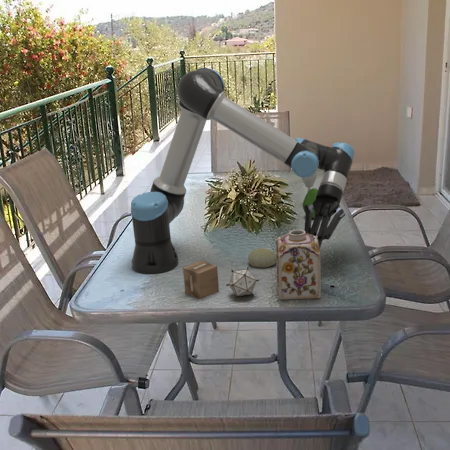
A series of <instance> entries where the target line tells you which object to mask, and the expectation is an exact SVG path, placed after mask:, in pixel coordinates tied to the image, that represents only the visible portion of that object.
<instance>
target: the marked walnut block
mask: <svg viewBox="0 0 450 450" xmlns="http://www.w3.org/2000/svg"><path fill="white" fill-rule="evenodd" d="M218 273H219V272H218V265H215V264H213V263H210V262H207V261H203V260H199V261H196V262H194V263H191V264H189V265H187V266H183V267H182V274H183V283H184V292H185V294H187V295H189V296H192V297H194V298H196V299H199V300H203V299H205V298H207V297H209V296H212V295H214V294H216V293H218V292H220V290H219V289H220V288H219V286H220V285H219V274H218Z"/></svg>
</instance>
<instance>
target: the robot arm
mask: <svg viewBox="0 0 450 450" xmlns="http://www.w3.org/2000/svg"><path fill="white" fill-rule="evenodd" d="M225 90H226V89H225V82H224V79H223V77H222V75H220V73H219V72H218V71H217V70H215V69H212V68H208V67H200V68H196V70H191V71H188V72H187V73H185V74H184V75H183V76H182V77H181V78H180V80H179V82H178V84H177V96H178V98H179V102H178V107H179V108H180V115H179V118H178V120H177V124H176V127H175V129H174V133H173V136H172V138H171V142H170V144H169V148H168V151H167V154H166V156H165V157H166V158H165V160H164V162H163V166H162V169H161V172H160V175H159V176H158V177H156V178H153V179H154V180H153V181H152V185H151V188H150V191H147V192H143V193H142V194H137V195H136V196H135V197H133V199H131V203H130V214H131V220H132V229H133V236H134V237H133V238H134V245H135V246H134V249H133V255H132V258H131V259H132V260H131V267H132V270H133V271H135V272H137V273H140V274H150V275H151V274H159V273H164V272H168V271H171V270H173V269H174V268H176V267H177V266H178V264H179V257H178V254H177V251H176V249H175V247H174V245H173V242H172V238H171V237H172V236H171V228H170V227H171V226H170V224H171V223H172V222H173V221H174V220H175V218H176V219H177V217H178V216H179V215H180V214H181V213H182V211H183V209H184V206H185V205H184V204H185V196H186V194H187V188H186V186H185V182H186V180H187V177H188V174H189V171H190V168H191V166H192V163H193V159H194V158H195V155H196V151H197V149H198V146H199V143H200V140H201V138H202V135H203V131H204V129H205V125H206V124H207V123H206V122H207V121H210V120H213V121H214V122H217V123H218V124H220V125H221V126H222V127H224V128H227V129H228V130H229V131H231V132H233V133H234V134H236V135H237V136H239V137H240V138H242V139H244V140H246V141H247V142H249V143H250V144H252V145H254V146H255V147H257V148H258V149H260V150H262V151H264V152H265V153H267V154H268V155H270V156H272V157H273V158H274V159H276V160H277V161H279V162H282V163H283V164H284V165H286V166H288V167H289V168H291V170H292V171H293V173H294V174H295V176H297V177H300V178H302V177H303V178H305V177H309V176H311V175H313V174H314V173H315V172H316V173H317V170H318V169H319V170H322V171H323V175H322V177H321V180H320V183H319V186H318V189H317V190H318V192H317V195H316V199H315V201H314V202H313V204H312V205H309V206H307V205H305V206H304V208H305V211H306V214H305V218H304V231H305V232H306V233H308V234H311V235H313V236H316V237H317V239H318V244H319V248H320V249H321V247H322V243H323V241H324V240H330V238H331V237H332V236H333V233H334V232H335V230H336V229H337V227H338V225H339V223H340V222H341V220H342V219H343V218H345V216H346V212H345V210H344V209H343V208H341V206H340V203H341V200H342V197H343V194H344V192H345V191H344V190H345V187H346V184H347V181H348V178H349V174H350V171H351V169H352V165H353V162H354V157H355V149H354V147H353V146H352V145H350V144H348V143H346V142H339V141H338V142H335V143H333V144H332V145H331V146H327V145H324V144H321V143H319V142H315V141H312V140H309V139H307V138H302V137H295V138H293V137H291V136H289V135H288V134H286V133H284V132H283V131H281V130H280V129H278V128H277V127H275V126H273V125H272V124H270V123H268V122H267V121H265V120H264V119H262V118H260V117H259V116H257V115H256V114H254V113H253V112H252V111H249V110H247V109H246V108H244V107H243V106H241V105H240V104H237V102H235V101H233V100H232V99H230V98H228V97H227V96H226V93H225ZM313 209H314V210H315V218H314V219H313V218H312V214H311V213H312V212H313ZM332 216H333V217H332ZM312 220H313V221H312Z"/></svg>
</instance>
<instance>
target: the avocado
mask: <svg viewBox="0 0 450 450" xmlns="http://www.w3.org/2000/svg"><path fill="white" fill-rule="evenodd" d="M307 191H308V190H307ZM307 191H306V192H307ZM317 192H318V189H317V188H316V187H312V188H310V190H309V191H308V192H307V193H306V195H305V196H304V199H303V202H302V209H303V212H304V214H305V215H306V211H305V208H304V206H305V205H307V206H309V205H312V204H313V202H314V201H315V199H316V195H317ZM311 214H312V220H314V218H315V210H314V209H313V212H312V213H311Z"/></svg>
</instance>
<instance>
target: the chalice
mask: <svg viewBox="0 0 450 450" xmlns="http://www.w3.org/2000/svg"><path fill="white" fill-rule="evenodd" d="M317 175H318V174H317V171H316V172H315V173H314V174H313V175H311V176H309V177H305V178H303V177H301V179H302V182H303V184H304V186H305V187H306V188H307V191H306V192H308V191H309V190H310V189H312V188H313V186H314V184H315V183H316V180H317Z"/></svg>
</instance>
